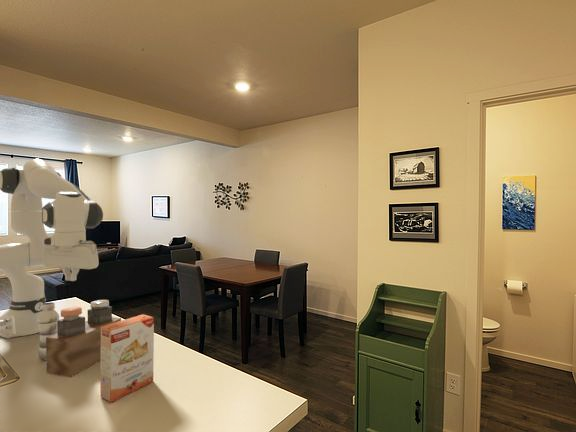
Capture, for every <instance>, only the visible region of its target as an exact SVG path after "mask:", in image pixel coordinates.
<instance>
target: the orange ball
mask: <svg viewBox="0 0 576 432" xmlns="http://www.w3.org/2000/svg"><path fill="white" fill-rule="evenodd" d="M82 311H83V309H82V307H81V306H72V307H65V308H63V309H60V317H61V318H64V320H67V321H72V320H75V319H78V318H79V316H81V315H82V314H83V312H82Z"/></svg>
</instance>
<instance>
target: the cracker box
mask: <svg viewBox="0 0 576 432" xmlns="http://www.w3.org/2000/svg"><path fill="white" fill-rule="evenodd" d="M154 329H155V317H153V316H151V315H147V314H144V313H143V314H139V315H137V316H132V317H129V318H126V319H123V320H122V319H121V321H119V322H115V323H112V324H108V325H105V326H102V327H101V361H100V397H101V398H102V399H104V400H106V401H107V402H108V403H113V402H115V401H117V400H120V399H121V398H123V397H125V396H127V395H128V394H131V393H133V392H135V391H137V390H139V389H141V388H143V387H145V386H147V385H149V384H151V383H153V382H154V351H155V350H154V349H155V347H154V343H155V342H154V341H155V338H154V335H155V330H154Z"/></svg>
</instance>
